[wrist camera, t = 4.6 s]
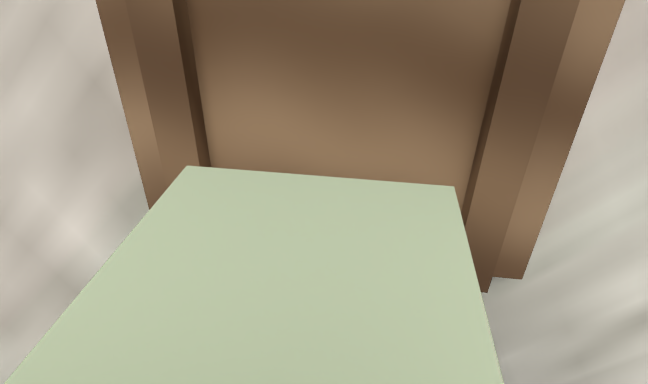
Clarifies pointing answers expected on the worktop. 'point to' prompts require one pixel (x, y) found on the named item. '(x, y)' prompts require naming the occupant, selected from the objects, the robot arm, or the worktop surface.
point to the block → (279, 290)
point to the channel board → (368, 97)
